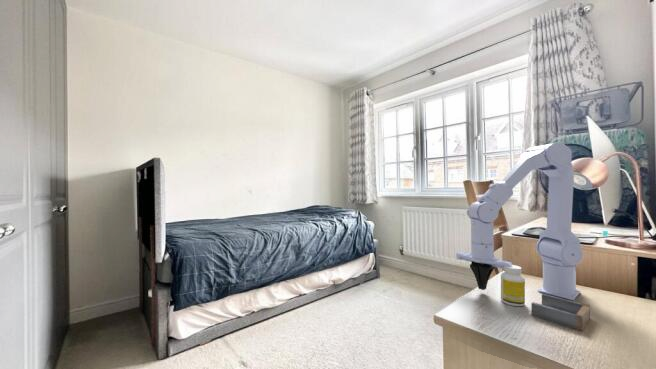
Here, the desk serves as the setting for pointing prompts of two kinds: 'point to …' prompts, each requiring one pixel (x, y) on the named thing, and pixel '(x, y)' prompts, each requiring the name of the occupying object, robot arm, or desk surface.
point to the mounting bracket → (562, 311)
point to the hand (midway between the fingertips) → (482, 288)
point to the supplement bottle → (513, 286)
